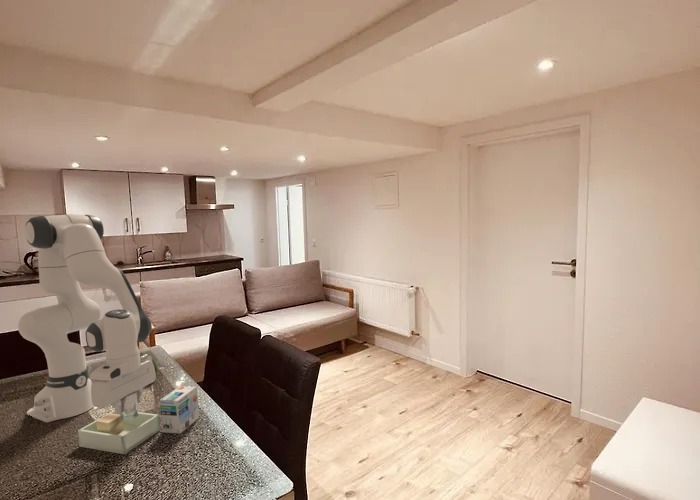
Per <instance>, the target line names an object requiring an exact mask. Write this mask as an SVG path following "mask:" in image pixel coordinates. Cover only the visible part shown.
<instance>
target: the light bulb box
mask: <svg viewBox="0 0 700 500" xmlns="http://www.w3.org/2000/svg"><path fill="white" fill-rule="evenodd" d="M159 405H160V406H159V407H160V408H159V409H160V416H161V417H160V418H161V419H160V420H161V428H162V429H161V431H162V433H167V434H182V433H183V432H184V431H185V430H187V429H188V428H189V427H190V426H191V425H193V424H194V423H195V422H196V421H197V420H198V419H199V418H200V413H199V400H198V389H197V386H184V385H183V386H182V385H181V386H178V387H177V388H174V390H173V391H170V392H169V393H168V394H166V395H165V396H163V397H162V398H160V399H159Z"/></svg>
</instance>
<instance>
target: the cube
mask: <svg viewBox="0 0 700 500" xmlns="http://www.w3.org/2000/svg"><path fill="white" fill-rule="evenodd" d="M109 413H110V414H109ZM109 413H107V414H108V415H107V414H105V415H106V416H105V415H104V417H103V416H102V417H103V418H101V417H100V418H101V419H100V418H98V419H99V420H98V419H96V420H97V421H96V420H95V421H96V425H97V432H101V433H108V434H114V435H117V434H118V433H120V432H122V431H123V430H124V425H123V420H120V414H112V413H111V412H109Z"/></svg>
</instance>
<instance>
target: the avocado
mask: <svg viewBox="0 0 700 500" xmlns="http://www.w3.org/2000/svg"><path fill="white" fill-rule="evenodd" d="M146 354H147V355H150V354H149V353H142V354H140V357H142V356H143V355H146ZM148 357H149V356H148ZM152 363H153V365H154V369H155V373H156V376H157V374H158V372H159V371H158V364H157V363H156V361H155V360H154V358H153V357H152Z"/></svg>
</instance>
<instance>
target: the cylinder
mask: <svg viewBox="0 0 700 500" xmlns="http://www.w3.org/2000/svg"><path fill="white" fill-rule="evenodd" d="M118 404H119V405H120V406H123V408H124V409H123V410H124V412H122V413H121V414H120V420H123V421H126V420H131V419H133V418H136V417H137V416H138V415H139V412H140V411H139V403H138V402H137V392H136V391H135V392H133V393H131V394H129V395H127V396H125V397H123V398H122V399H120V403H118Z"/></svg>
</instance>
